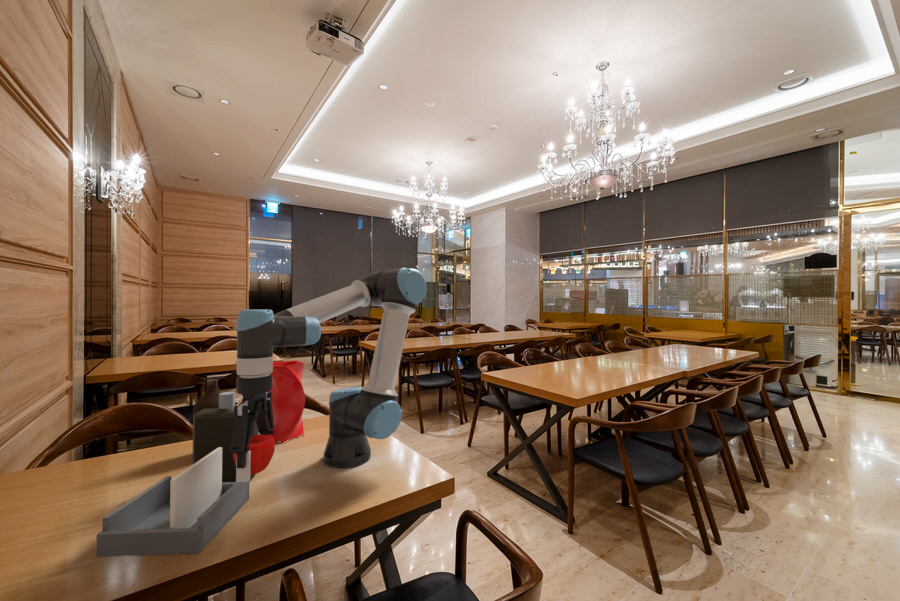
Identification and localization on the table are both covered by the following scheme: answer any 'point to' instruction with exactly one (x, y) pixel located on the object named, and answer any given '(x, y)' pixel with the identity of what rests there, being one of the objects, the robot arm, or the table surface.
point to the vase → (287, 400)
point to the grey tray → (165, 523)
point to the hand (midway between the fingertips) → (253, 471)
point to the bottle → (217, 434)
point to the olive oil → (208, 397)
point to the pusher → (195, 490)
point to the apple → (260, 452)
